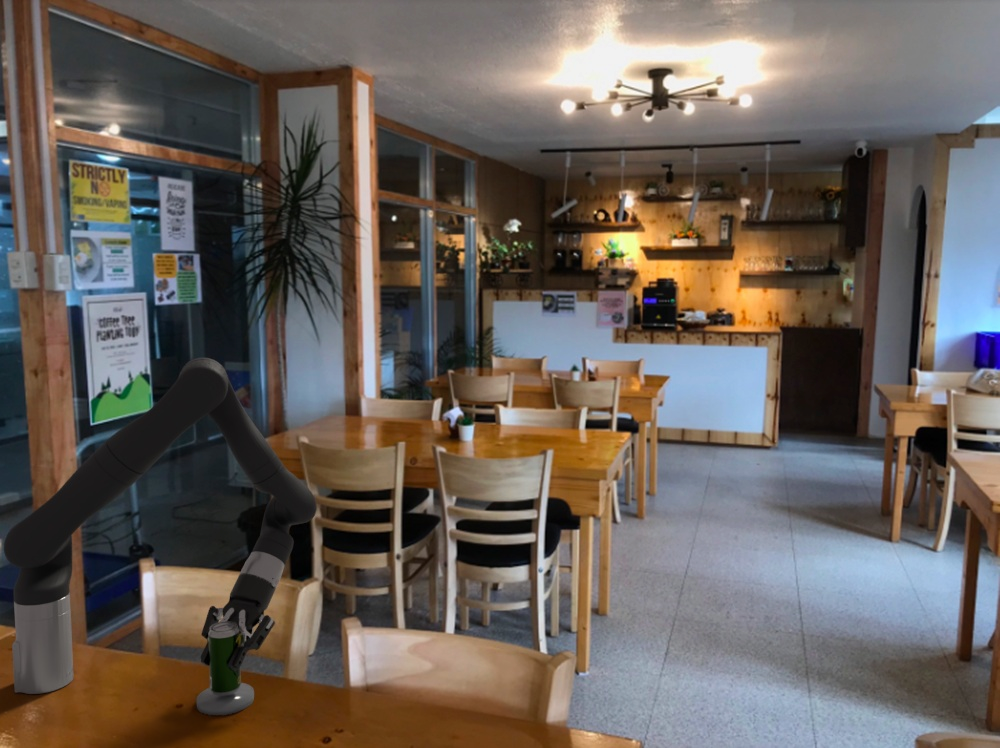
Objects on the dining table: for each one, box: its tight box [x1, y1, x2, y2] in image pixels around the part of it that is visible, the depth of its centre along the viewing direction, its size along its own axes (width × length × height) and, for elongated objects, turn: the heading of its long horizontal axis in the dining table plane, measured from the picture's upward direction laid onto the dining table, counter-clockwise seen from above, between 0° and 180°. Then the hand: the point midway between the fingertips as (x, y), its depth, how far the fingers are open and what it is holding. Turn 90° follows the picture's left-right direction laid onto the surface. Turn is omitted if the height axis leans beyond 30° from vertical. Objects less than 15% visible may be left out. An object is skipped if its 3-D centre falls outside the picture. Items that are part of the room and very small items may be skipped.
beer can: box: [208, 621, 242, 696], centre depth 144 cm, size 5×5×12 cm
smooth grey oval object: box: [196, 682, 255, 716], centre depth 144 cm, size 10×10×1 cm
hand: (218, 666), depth 142 cm, fingers closed on beer can, 5 cm apart
